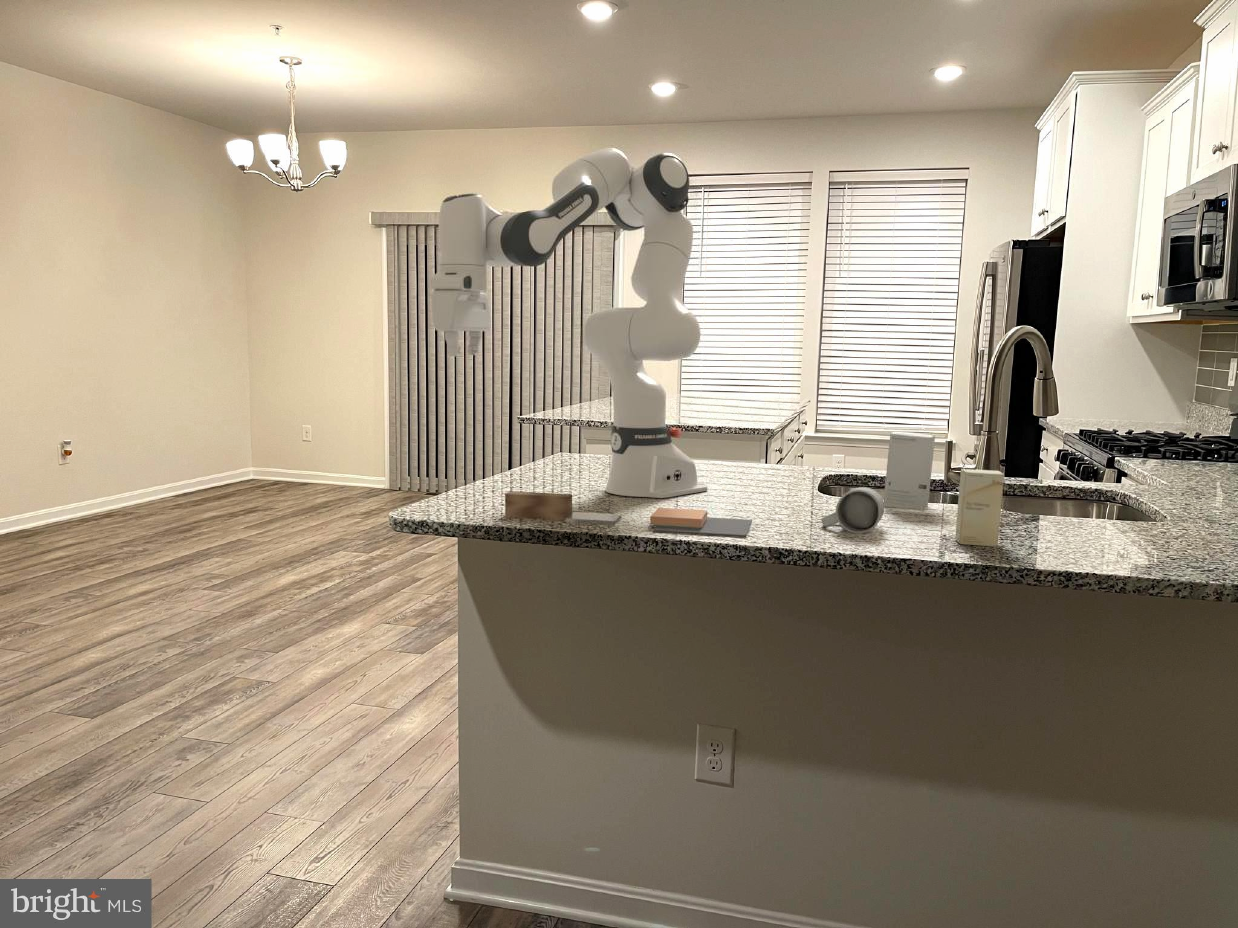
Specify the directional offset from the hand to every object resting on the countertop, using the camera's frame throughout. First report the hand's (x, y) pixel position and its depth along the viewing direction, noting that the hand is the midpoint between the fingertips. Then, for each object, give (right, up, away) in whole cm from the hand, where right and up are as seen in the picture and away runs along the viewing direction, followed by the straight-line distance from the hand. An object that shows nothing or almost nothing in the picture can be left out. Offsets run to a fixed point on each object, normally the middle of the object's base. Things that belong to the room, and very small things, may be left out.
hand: (464, 355), depth 173 cm
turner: (+19, -31, -7) cm, 37 cm away
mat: (+45, -32, -13) cm, 56 cm away
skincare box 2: (+89, -34, -22) cm, 98 cm away
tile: (+36, -30, -11) cm, 48 cm away
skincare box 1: (+87, -30, +8) cm, 93 cm away
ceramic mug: (+71, -33, -12) cm, 79 cm away
